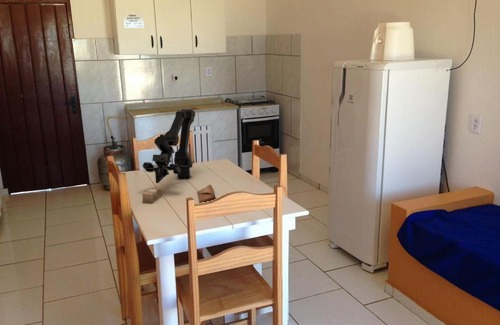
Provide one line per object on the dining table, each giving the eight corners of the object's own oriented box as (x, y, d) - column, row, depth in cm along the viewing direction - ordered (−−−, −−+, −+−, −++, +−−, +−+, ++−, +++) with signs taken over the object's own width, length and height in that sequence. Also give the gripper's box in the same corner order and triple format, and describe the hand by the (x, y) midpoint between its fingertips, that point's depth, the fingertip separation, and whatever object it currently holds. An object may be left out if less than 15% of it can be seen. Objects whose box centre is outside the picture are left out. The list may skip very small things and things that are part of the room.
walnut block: (152, 187, 219) (142, 193, 209) (161, 187, 217) (151, 194, 208) (152, 196, 220) (142, 203, 211) (161, 197, 219) (152, 204, 209)
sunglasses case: (195, 191, 226) (202, 180, 225) (208, 197, 228) (214, 186, 227) (198, 203, 208) (205, 191, 208) (211, 209, 210) (218, 197, 210)
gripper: (142, 146, 221) (133, 173, 214) (176, 148, 216) (168, 176, 209) (151, 158, 231) (142, 184, 223) (184, 160, 226) (176, 187, 218)
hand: (156, 182), depth 218 cm, fingers closed
